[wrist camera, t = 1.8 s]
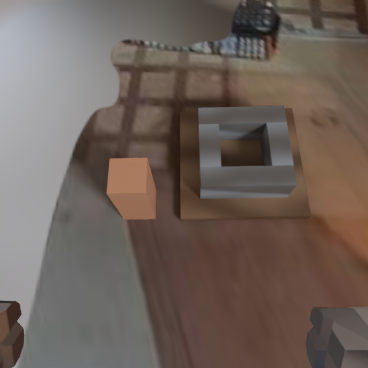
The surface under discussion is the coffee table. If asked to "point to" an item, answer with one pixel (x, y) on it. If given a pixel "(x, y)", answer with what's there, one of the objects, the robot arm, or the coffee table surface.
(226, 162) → the well
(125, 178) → the post
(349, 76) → the coffee table surface
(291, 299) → the coffee table surface
